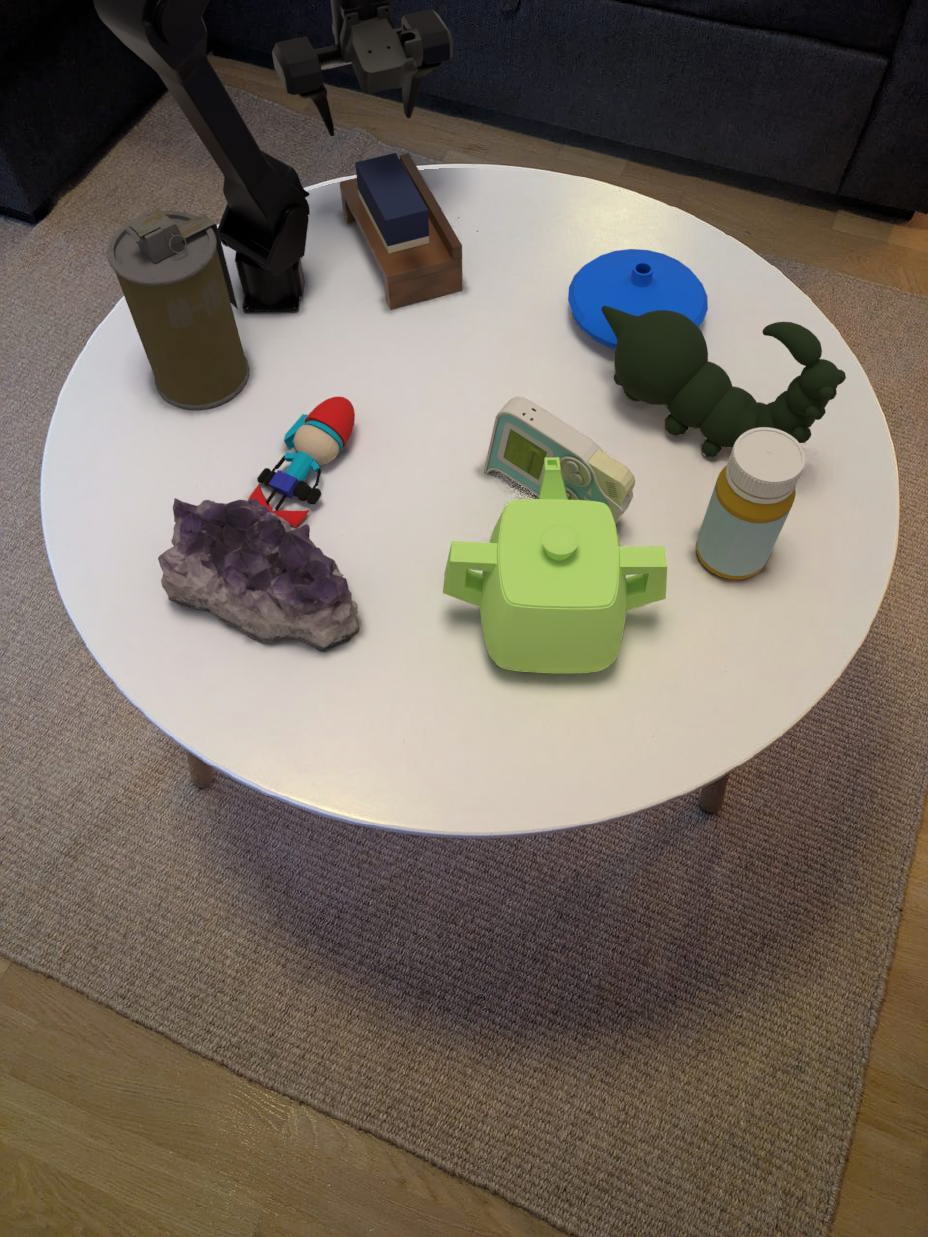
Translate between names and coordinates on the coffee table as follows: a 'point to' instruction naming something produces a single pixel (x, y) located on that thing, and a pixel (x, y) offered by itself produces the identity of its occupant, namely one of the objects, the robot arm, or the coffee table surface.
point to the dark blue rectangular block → (392, 203)
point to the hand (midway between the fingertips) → (369, 125)
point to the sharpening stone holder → (417, 267)
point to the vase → (633, 290)
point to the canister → (181, 306)
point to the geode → (257, 574)
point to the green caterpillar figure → (715, 379)
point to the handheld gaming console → (539, 434)
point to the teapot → (554, 581)
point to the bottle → (750, 503)
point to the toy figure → (307, 455)
